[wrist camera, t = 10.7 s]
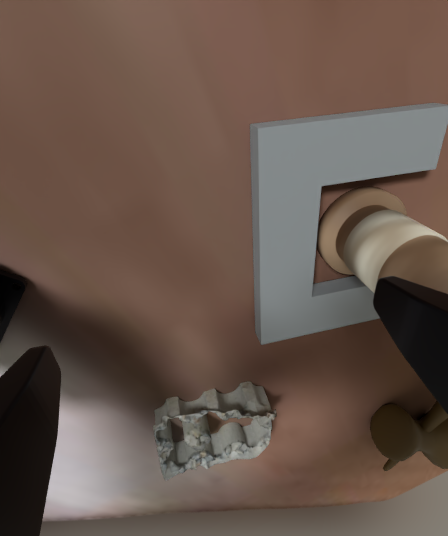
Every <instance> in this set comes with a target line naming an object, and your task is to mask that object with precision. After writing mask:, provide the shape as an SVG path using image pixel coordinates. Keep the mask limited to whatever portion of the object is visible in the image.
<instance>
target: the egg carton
mask: <svg viewBox="0 0 448 536" xmlns="http://www.w3.org/2000/svg"><path fill="white" fill-rule="evenodd" d="M208 411H211V412H214V413H216V414H217V415H218V416H219V417H220V418H221V419H222V420H224V421H226V420H227V419H229V418H237V419H240V418H246V417H248V418H252V419H253V421H252V422H251V425H248V426H244V427H241V425H240V424H239V423H236V422H230V423H227V424H225V425H223V426H222V427H221V428H220V429H219V431H218V433H215V434H210V429H209V425H208V420H207V416H206V414H207V413H208ZM154 412H155V425H156V426H155V425H154V426H153V429H154V436H155V441H156V445H157V451H158V455H159V461H160V466H161V470H162V474H163V477H164V479H165V481H166V480H169V479H170V478H172V477H173V476H175V475H177V474H179V473H183V472H185V471H186V470H187V469H194V470H196V469H197V467H198V466H203V467H204V468H206V469H208V468H210V467H211V466H213V465H215V464H219V463H225V462H227V461H230V460H233V459H252V458H255V457H257V456H258V455H259V454H260V453H261V452H262V451H263V450H264V449H265V448H266V447H267V446H268V444H269V441H270V439H271V436H270V433H271V430H272V423H271V419H273V420H274V417H276V416H277V415H276V409H275V410H274V411H273V410H271V407H270V404H269V402H268V399H267V396H266V394H265V391H264V388H263V387H262V386H255V385H253V384H252V382H250V381H249V382H243V383H240V385H239V387H238V388H237V389H236V390H235V391H233V392H231V393H228V394H222V393H219V392H217V391H216V390H215V389H211V390H208V391H205V392H203V394H202V396H201V397H200V398H199V399H197V400H195V401H191V402H184V401H182V400H180V399H179V398H178V397H171V398H168V399H166V402H165V404H164V405H163V406H162V407H160V408H158V409H156V410H154ZM173 418H179V419H180V421H182V426H183V433H184V441H181V442H177V443H174V441H173V440H172V431H171V423H170V420H169V419H173Z"/></svg>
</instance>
